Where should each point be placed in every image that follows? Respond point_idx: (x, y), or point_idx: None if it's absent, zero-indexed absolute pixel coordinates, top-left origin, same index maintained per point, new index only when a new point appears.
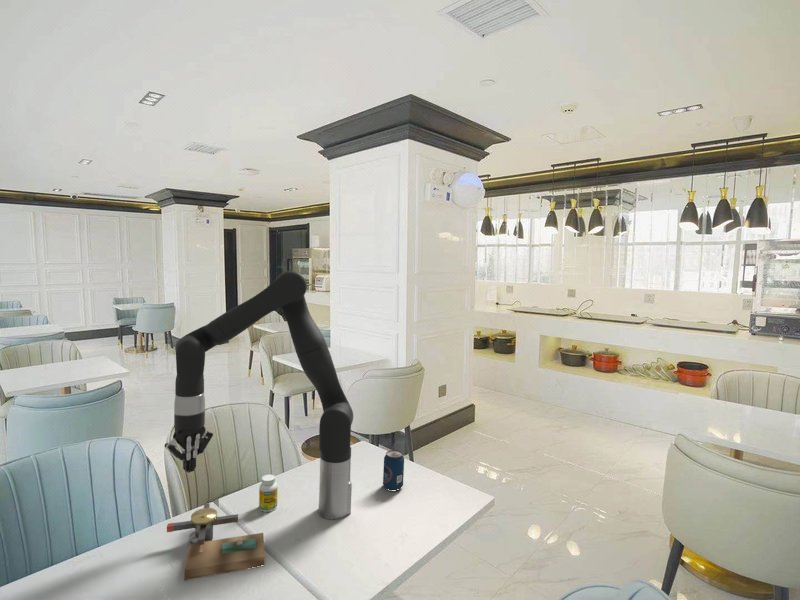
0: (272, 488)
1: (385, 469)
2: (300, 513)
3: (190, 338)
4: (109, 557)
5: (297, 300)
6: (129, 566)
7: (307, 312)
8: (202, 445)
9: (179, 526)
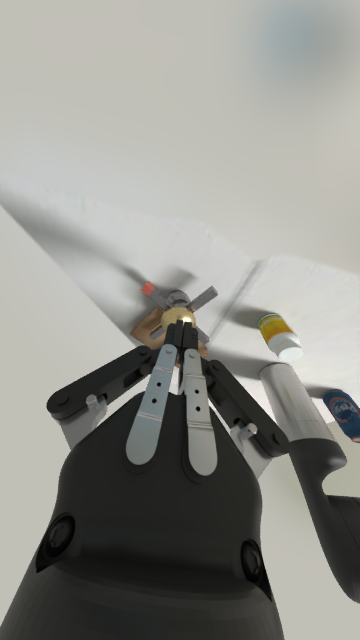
0: (274, 352)
1: (343, 416)
2: (264, 353)
3: None
4: (90, 224)
5: None
6: (105, 267)
7: None
8: (214, 403)
9: (153, 300)
